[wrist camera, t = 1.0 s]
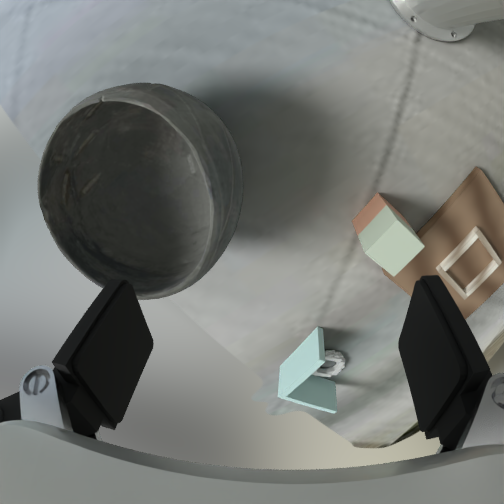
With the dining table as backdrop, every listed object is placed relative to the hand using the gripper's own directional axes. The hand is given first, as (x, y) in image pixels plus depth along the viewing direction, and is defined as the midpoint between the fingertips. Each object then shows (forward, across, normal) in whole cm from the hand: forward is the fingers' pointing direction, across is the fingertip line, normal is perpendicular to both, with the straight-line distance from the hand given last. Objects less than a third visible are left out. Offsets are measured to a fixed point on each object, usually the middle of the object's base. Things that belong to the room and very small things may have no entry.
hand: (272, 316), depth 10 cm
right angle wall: (+29, -6, +36) cm, 47 cm away
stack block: (+28, -12, +9) cm, 32 cm away
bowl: (+29, +14, +1) cm, 32 cm away
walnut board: (+28, -27, +16) cm, 42 cm away
